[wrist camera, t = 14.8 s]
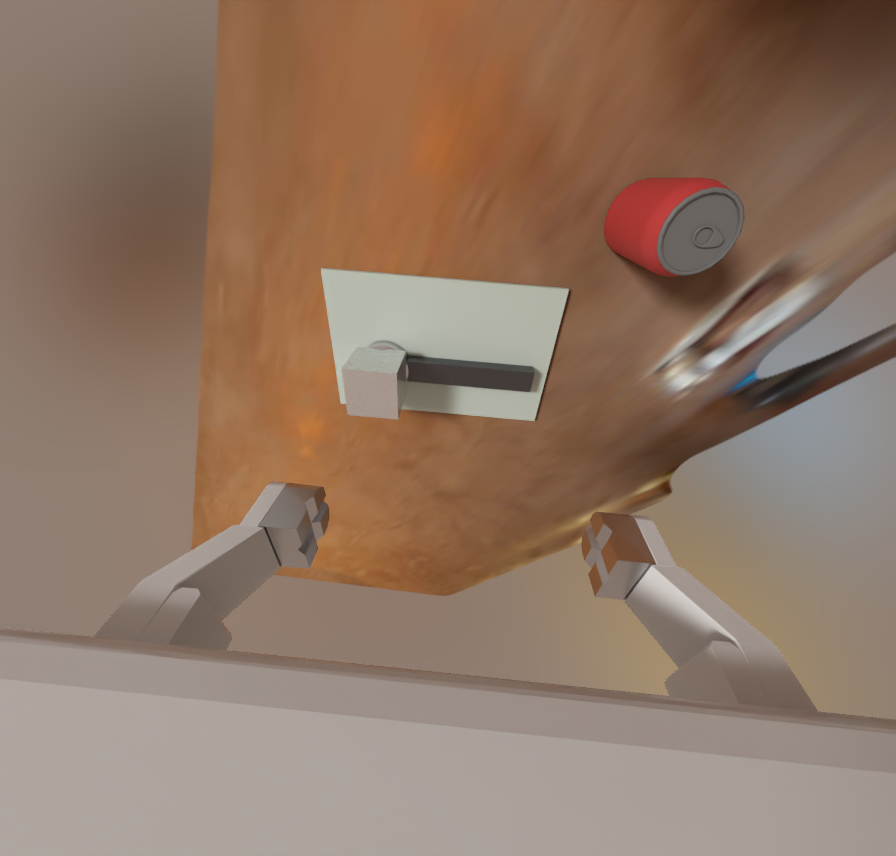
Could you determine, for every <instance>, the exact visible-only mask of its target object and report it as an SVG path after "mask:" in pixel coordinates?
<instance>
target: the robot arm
mask: <svg viewBox="0 0 896 856" xmlns="http://www.w3.org/2000/svg"><path fill="white" fill-rule="evenodd" d="M325 496H326V494H325V490H324V487H319V486H311V485H303V484H294V483H284V482H275V481H272V482H271V483H269V484H268V485H267V486H266V488H265V489H264V490H263V492H262V493H261V495H260V496H259V498H258V499H257V501H256V502H255V503H254V505H253V506H252V508H251V509H250V511H249V512H248V513H247V515H246V516H245V518H244V519H243V521H242V522H241V524H240V525H233V526H231V527H230V528H228V529H226V530H225V531H223V532H221V533H220V534H218V535H216V536H215V537H213V538H211V539H210V540H208V541H206V542H205V543H203V544H201V545H200V546H198V547H197V548H195V549H193V550H192V551H190V552H188V553H187V554H185V555H183V556H182V557H180V558H178V559H177V560H175V561H173V562H172V563H170V564H168V565H167V566H165V567H163V568H162V569H160V570H158V571H157V572H155V573H154V574H152V575H150V576H148V577H147V578H145V579H144V580H142V581H140V583H139V584H138V585H137V586H136V587H135V588H134V590H133V591H132V592H131V594H129V596H128V597H127V598H126V599H125V600H124V602H123V603H122V604H121V605H120V606H119V607H118V609H117V610H116V611H115V612H114V614H113V615H112V616H111V617H110V618H109V619H108V621H107V622H106V623H105V624H104V625H103V626H102V628H101V629H100V630H99V631H98V632H97V633H96V635H95V636H94V637H92V636H83V635H73V634H64V633H54V632H43V631H34V630H24V629H15V628H4V627H0V856H896V720H894V719H885V718H875V717H865V716H856V715H846V714H837V713H826V712H818V711H817V709H816V707H815V706H814V704H813V703H812V701H811V700H810V698H809V696H808V695H807V693H806V692H805V691H804V689H803V687H802V686H801V684H800V683H799V681H798V679H797V678H796V676H795V675H794V673H793V672H792V670H791V669H790V667H789V665H788V664H787V662H786V661H785V659H784V658H783V656H782V655H781V653H780V652H779V650H778V648H777V647H776V645H775V644H773V643H772V642H771V641H770V640H768V639H767V638H766V637H765V636H764V635H763V634H761V633H760V632H759V631H758V630H757V629H755V628H754V627H753V626H752V625H751V624H749V623H748V622H747V621H746V620H745V619H743V618H742V617H741V616H740V615H738V614H737V613H736V612H735V611H734V610H732V609H731V608H730V607H729V606H728V605H727V604H725V603H724V602H723V601H722V600H721V599H719V598H718V597H717V596H716V595H714V594H713V593H712V592H711V591H710V590H708V589H707V588H706V587H705V586H704V585H702V584H701V583H700V582H699V581H698V580H696V579H695V578H694V577H693V576H692V575H691V574H689V573H688V572H687V571H686V570H685V569H683V568H680V567H677V566H676V564H675V562H674V560H673V558H672V556H671V555H670V553H669V551H668V549H667V547H666V545H665V543H664V541H663V539H662V538H661V536H660V534H659V532H658V530H657V528H656V526H655V524H654V522H653V521H652V519H651V518H649V517H648V516H637V515H628V514H616V513H603V512H595V513H594V514H593V515H592V517H591V519H590V521H591V524H592V526H590V527H589V528H587V529H585V532H584V534H583V536H582V552H583V557H584V560H585V561H586V562H587V563H588V565H589V566H590V567H591V568H592V569H591V571H590V573H589V578H590V581H591V584H592V588H593V591H594V595H595V596H596V597H603V598H611V599H619V600H625V603H626V604H627V605H628V607H629V608H630V609H631V610H632V612H633V613H634V614H635V615H636V616H637V618H638V619H639V620H640V621H641V623H642V624H643V625H644V626H645V627H646V629H647V630H648V631H649V632H650V633H651V635H652V636H653V637H654V638H655V640H656V641H657V642H658V643H659V644H660V646H661V647H662V648H663V649H664V651H665V652H666V653H667V654H668V656H669V657H670V658H671V659H672V660H673V662H674V663H675V664H676V665H677V667H678V668H679V669H678V670H676V671H675V672H674V673H673V674H672V675H670V676H669V677H668V678H667V679H666V681H665V686H666V689H667V691H668V694H669V696H663V695H653V694H644V693H634V692H625V691H615V690H605V689H596V688H585V687H576V686H566V685H557V684H546V683H537V682H528V681H518V680H509V679H499V678H489V677H480V676H470V675H461V674H451V673H441V672H432V671H422V670H412V669H403V668H393V667H383V666H374V665H363V664H354V663H345V662H334V661H325V660H315V659H306V658H296V657H286V656H276V655H267V654H257V653H248V652H237V651H228V650H227V648H228V646H229V644H230V642H231V640H232V636H231V633H230V632H229V630H228V629H227V628H226V626H225V625H224V623H223V622H222V620H223V619H224V618H225V617H227V615H229V614H230V613H231V612H232V611H233V610H234V609H235V608H237V607H238V606H239V605H240V604H241V603H242V602H243V601H244V600H246V599H247V598H248V597H249V596H250V595H251V594H252V593H253V592H254V591H256V589H257V588H259V587H260V586H261V585H262V584H263V583H264V582H266V581H267V580H268V579H269V578H270V577H271V576H272V575H273V574H275V573H276V572H277V571H278V570H279V569H280V566H282V567H296V568H310V566H311V564H312V561H313V559H314V557H315V554H316V552H317V550H318V546H317V542H316V541H317V540H318V539H320V538H321V537H322V536H324V534H325V531H326V529H327V526H328V521H329V507H328V505H327V504H326V503H325V502H324V501H323V500H324V498H325Z"/></svg>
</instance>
